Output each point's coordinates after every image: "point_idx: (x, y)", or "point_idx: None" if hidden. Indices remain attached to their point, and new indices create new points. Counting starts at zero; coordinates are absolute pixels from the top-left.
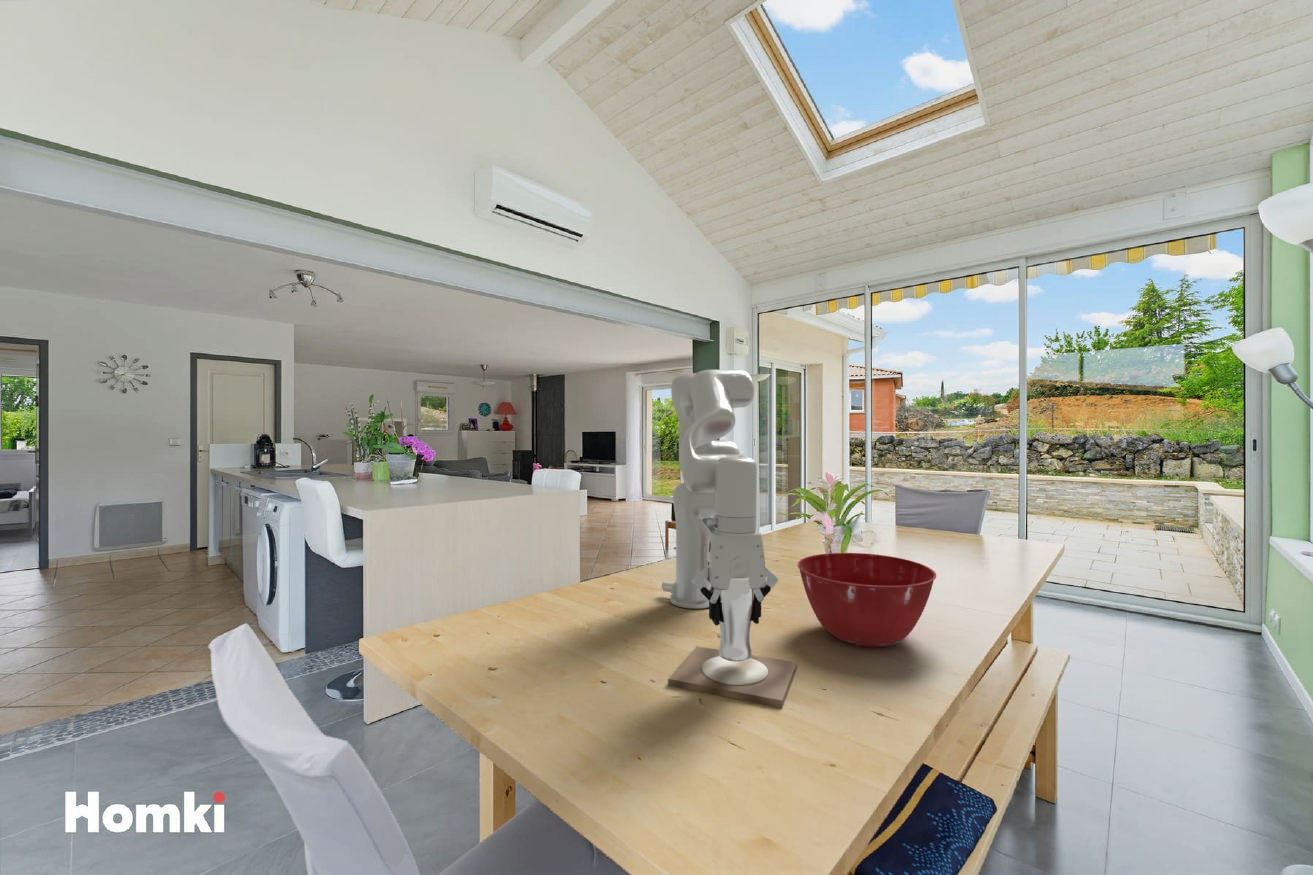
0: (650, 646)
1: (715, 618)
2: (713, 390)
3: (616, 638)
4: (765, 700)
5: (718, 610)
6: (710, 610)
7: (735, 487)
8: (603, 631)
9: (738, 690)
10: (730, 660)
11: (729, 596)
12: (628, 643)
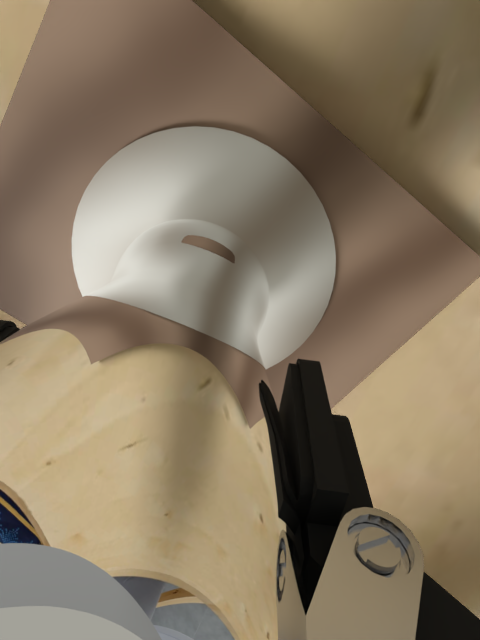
0: (388, 511)
1: (323, 395)
2: None
3: (459, 570)
4: None
5: (311, 433)
6: (354, 474)
7: None
8: (471, 608)
9: (257, 82)
10: (237, 237)
11: (202, 515)
12: (442, 540)
